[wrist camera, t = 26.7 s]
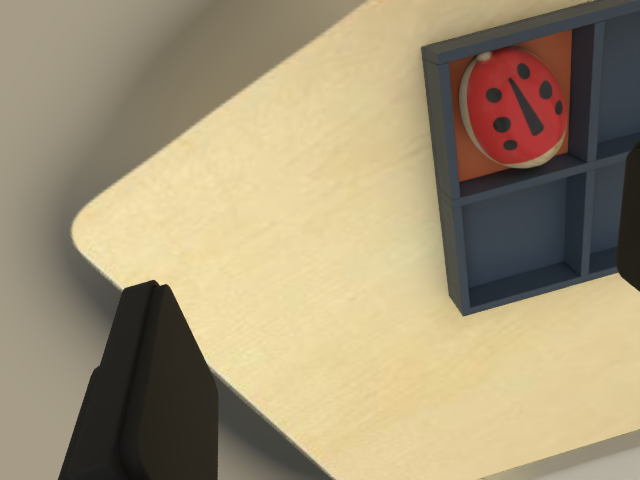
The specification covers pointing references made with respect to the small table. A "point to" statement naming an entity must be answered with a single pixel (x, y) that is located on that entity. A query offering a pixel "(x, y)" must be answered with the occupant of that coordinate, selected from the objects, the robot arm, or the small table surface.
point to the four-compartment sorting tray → (544, 180)
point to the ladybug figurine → (513, 107)
